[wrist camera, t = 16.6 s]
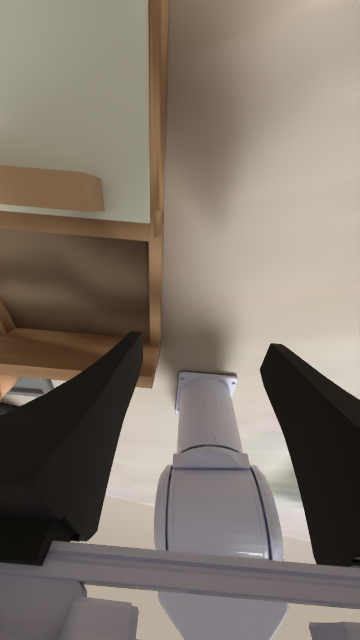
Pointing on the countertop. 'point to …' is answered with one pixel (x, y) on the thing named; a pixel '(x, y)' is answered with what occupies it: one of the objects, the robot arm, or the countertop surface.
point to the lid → (75, 108)
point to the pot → (7, 383)
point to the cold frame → (88, 267)
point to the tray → (31, 387)
